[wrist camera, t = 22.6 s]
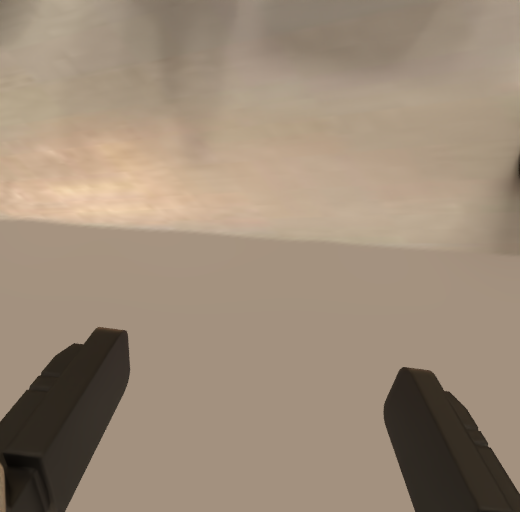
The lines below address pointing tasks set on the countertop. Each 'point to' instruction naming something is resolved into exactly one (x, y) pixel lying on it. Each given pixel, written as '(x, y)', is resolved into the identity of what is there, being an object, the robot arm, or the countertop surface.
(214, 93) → the countertop surface
